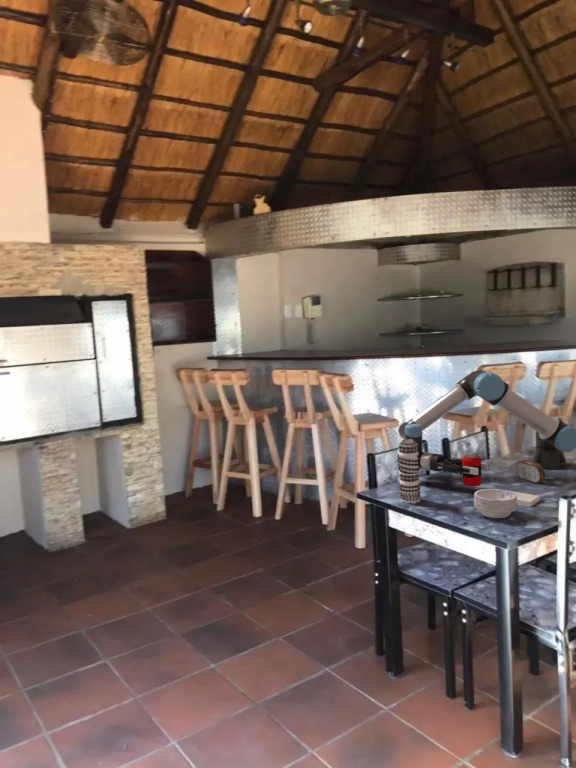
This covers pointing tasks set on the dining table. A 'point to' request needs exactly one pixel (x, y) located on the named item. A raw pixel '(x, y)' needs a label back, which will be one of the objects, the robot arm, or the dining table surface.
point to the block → (526, 499)
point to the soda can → (476, 463)
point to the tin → (530, 471)
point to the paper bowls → (495, 502)
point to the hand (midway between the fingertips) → (482, 469)
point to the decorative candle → (409, 471)
